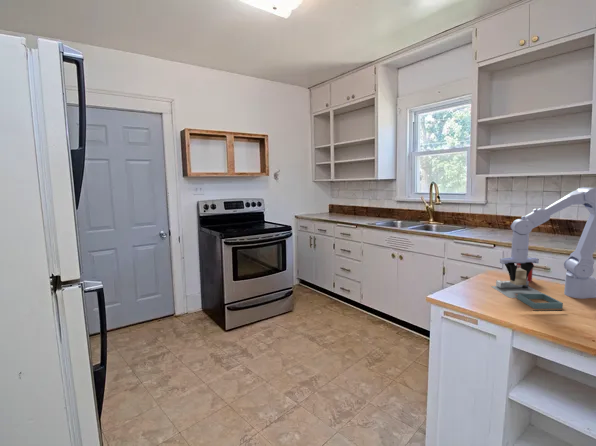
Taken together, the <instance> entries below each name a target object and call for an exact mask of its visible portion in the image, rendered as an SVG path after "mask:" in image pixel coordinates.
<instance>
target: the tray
mask: <svg viewBox="0 0 596 446" xmlns="http://www.w3.org/2000/svg"><path fill="white" fill-rule="evenodd" d="M516 299H517V300H519V301H520V302H521V303H524V304H526V305H528V307H531V308H532V309H533V310H532V311H533V312H563V310H562V309H563V307H564V303H563V302H561V301H559V300H557V299H556V298H553V297H551V296H550V295H548V294H546V293H543V292H541V294H518V295H517V298H516ZM533 300H544V301H546V302H535V301H533ZM536 309H537V310H536ZM538 309H539V310H538ZM541 309H542V310H541ZM552 309H553V310H552Z"/></svg>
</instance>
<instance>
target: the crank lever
mask: <svg viewBox="0 0 596 446" xmlns="http://www.w3.org/2000/svg"><path fill="white" fill-rule="evenodd" d="M529 284H530V282H529V281H527V280H526V285H515V284H513V283H511V282H510V280H496V281H495V286H497V287H499V288H528V286H529Z"/></svg>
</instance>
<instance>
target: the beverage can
mask: <svg viewBox="0 0 596 446" xmlns="http://www.w3.org/2000/svg"><path fill="white" fill-rule="evenodd" d="M528 258H533V257H532V256H529V255H528ZM532 264H533V265H534V263H532ZM515 265H516V266H517V268H521V264H520V263H515ZM533 268H534V267H533ZM533 268H532V269H531V271H530V272H529V274H528V277H527V279H526V280H527V281H529V283H531V282H532V281H533V273H534V269H533Z"/></svg>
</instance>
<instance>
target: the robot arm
mask: <svg viewBox="0 0 596 446" xmlns="http://www.w3.org/2000/svg"><path fill="white" fill-rule="evenodd" d="M572 205H582V206H584V207H585V208H586V209H587V211H588V212H589V214H588V215H589V216H588V218H587V220H586V223H585V225H584V228H583V230H582V232H581V235H580V236H579V237H580V238H579V240H578V242H577V245H576V247H575V250H574V251H573V252H571V253H570V254H569V256H568V257H567V259H565V260H564V262H563V268H564V269H565V270H566V272H565V277H564V278H565V280H564V291H563V294H564V296H567V297H569V298H573V299H574V298H575V299H584V300H585V299H596V278H595V277H594V276H593V274H594V272H595V269H594V264H595V259H594V257H593V256H594V252H595V250H596V187H588V186H582V187H579V188H577V189H576V190H573V191H570V193H568V194H567V195H565V196H563V197H561V198H560V199H558V200H556V201H555V202H553V203H552V204H549V206H547V207H545V208H541V207H539V208H534V209H532V212H529V213H528V214H526V215H522V216H521V218H517V219H515V220H513V222H512V223H511V225H510V229H511V231H512V237H511V253H510V255H511V256H510V257H504V258H503V257H502V258H499V264H501V265H504V266H505V267H506V270H507V272H508V275H509V281H510V280H512V281H515V274H516V269H517V266H516V263H520V264H521V269H523V270H526V271H527V273H526V279H527V277H528V274H529V272H530V271H531V269H532V268H534V267H535V264H540V263H539V261H540V258H537V257H532V258H528V256H529V246H530V245H529V242H530V241H529V240H530V236H529V235H530V233H532V230H533V229H535V228H537V227H539V226H541V225H542V224H544V223H547V222H548V221H550V219H551V216H552V215H555V214H556V213H558V212H560V211H563V210H564V209H567V208H569V207H571V206H572ZM532 263H533V264H532Z"/></svg>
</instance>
